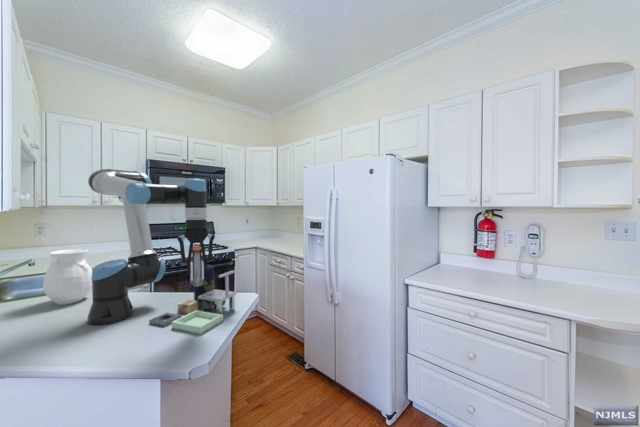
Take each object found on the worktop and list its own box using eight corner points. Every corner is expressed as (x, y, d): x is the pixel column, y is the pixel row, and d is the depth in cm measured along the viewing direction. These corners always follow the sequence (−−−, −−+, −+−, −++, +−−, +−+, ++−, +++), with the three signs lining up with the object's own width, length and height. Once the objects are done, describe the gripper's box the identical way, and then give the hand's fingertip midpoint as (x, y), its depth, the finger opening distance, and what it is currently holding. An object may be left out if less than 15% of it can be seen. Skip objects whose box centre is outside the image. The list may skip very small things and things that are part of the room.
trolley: (198, 314, 114) (197, 273, 114) (215, 305, 124) (214, 268, 123) (220, 318, 110) (219, 275, 109) (236, 308, 120) (235, 270, 119)
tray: (171, 328, 101) (171, 321, 101) (196, 316, 112) (196, 310, 112) (200, 334, 96) (200, 327, 96) (223, 321, 107) (223, 314, 107)
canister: (219, 299, 132) (218, 263, 132) (201, 305, 124) (200, 267, 124) (207, 295, 137) (206, 261, 137) (189, 301, 129) (189, 264, 129)
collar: (149, 323, 105) (149, 320, 105) (167, 315, 112) (167, 312, 112) (164, 327, 102) (164, 323, 102) (181, 318, 110) (181, 315, 110)
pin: (188, 286, 102) (187, 247, 102) (197, 283, 106) (196, 245, 106) (197, 287, 101) (196, 247, 100) (206, 284, 105) (205, 246, 104)
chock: (177, 313, 116) (177, 304, 116) (185, 308, 121) (185, 300, 121) (189, 314, 115) (189, 305, 114) (197, 309, 120) (197, 301, 119)
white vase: (71, 308, 121) (69, 254, 121) (31, 308, 122) (29, 254, 121) (104, 294, 140) (103, 247, 139) (70, 294, 140) (69, 247, 140)
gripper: (171, 220, 96) (173, 284, 97) (219, 218, 103) (220, 278, 103) (173, 219, 103) (174, 279, 103) (217, 218, 110) (218, 274, 110)
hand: (197, 278), depth 103 cm, fingers closed on pin, 3 cm apart
